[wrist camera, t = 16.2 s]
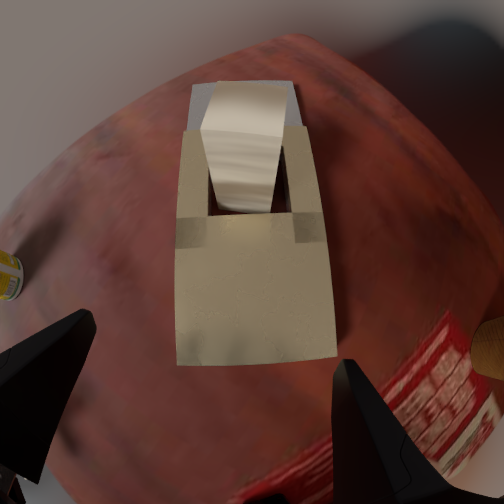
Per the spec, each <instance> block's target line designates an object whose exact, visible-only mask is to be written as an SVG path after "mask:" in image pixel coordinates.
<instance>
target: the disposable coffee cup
mask: <svg viewBox="0 0 504 504" xmlns="http://www.w3.org/2000/svg"><path fill="white" fill-rule="evenodd" d="M471 363H472V366H473V368H474V370H475V372H477V373H478V374H481V375H485V376H489V377H492V378H496V379H499V380H503V381H504V316H502V317H499V318H496V319H493V320H490V321H486V322H484V323H482V324H481V325H480V326H479V328H478V329H477V331H476V333H475V335H474V338H473V341H472V346H471Z"/></svg>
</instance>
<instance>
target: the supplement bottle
mask: <svg viewBox="0 0 504 504" xmlns="http://www.w3.org/2000/svg"><path fill="white" fill-rule="evenodd" d="M23 276H24V275H23V267H22V264H21V262H20V260H19V259H18V258H17V257H15V256H13V255H10V254H8V253H6V252H4V251H2V250H0V299H4V300H13V299H15V298H16V297H17V296H18V294H19V293H20V291H21V288H22V284H23Z"/></svg>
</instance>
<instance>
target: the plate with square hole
mask: <svg viewBox="0 0 504 504" xmlns="http://www.w3.org/2000/svg"><path fill="white" fill-rule="evenodd" d="M234 82H248V83H259V84H268V85H277V86H284V87H288V92H287V102H286V111H285V120H284V129H283V138H282V144H281V150H280V156H279V160H281V166H282V174H283V182H284V191H285V200H286V209H287V213H265V214H242V215H222V216H211V196H212V179H211V175H210V171H209V166H208V162H207V158H206V154H205V149H204V145H203V141H202V136H201V132H200V128H201V125H202V122H203V119H204V116H205V113H206V111H207V108H208V105H209V102H210V100H211V97H212V94H213V92H214V89H215V87H216V84H217V82H216V83H205V84H195V85H193V87H192V94H191V101H190V108H189V116H188V125H187V131H184V133H183V142H182V151H181V161H180V172H179V185H178V199H177V216H176V240H175V329H176V352H177V365H188V366H224V365H252V364H269V363H282V362H293V361H303V360H312V359H320V358H328V357H335V356H337V342H336V326H335V313H334V301H333V290H332V280H331V271H330V262H329V254H328V246H327V238H326V231H325V224H324V217H323V211H322V205H321V199H320V193H319V187H318V181H317V176H316V170H315V165H314V160H313V155H312V150H311V145H310V141H309V136H308V131H307V127H306V126H303V125H302V120H301V116H300V111H299V107H298V103H297V99H296V94H295V90H294V86H293V82H292V81H234Z"/></svg>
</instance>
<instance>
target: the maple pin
mask: <svg viewBox="0 0 504 504" xmlns="http://www.w3.org/2000/svg"><path fill="white" fill-rule="evenodd" d="M287 92H288V87H284V86H277V85H268V84H259V83H248V82H234V81H217V84H216V87H215V89H214V92H213V94H212V97H211V100H210V102H209V105H208V108H207V111H206V113H205V116H204V119H203V122H202V125H201V128H200V132H201V136H202V141H203V145H204V149H205V154H206V158H207V162H208V166H209V171H210V175H211V179H212V183H213V187H214V192H215V196H216V200H217V204H218V208H219V209H221V210H229V211H237V212H244V213H252V214H265V213H270V209H271V203H272V198H273V192H274V186H275V180H276V174H277V168H278V162H279V156H280V150H281V144H282V138H283V129H284V120H285V111H286V102H287Z"/></svg>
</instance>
